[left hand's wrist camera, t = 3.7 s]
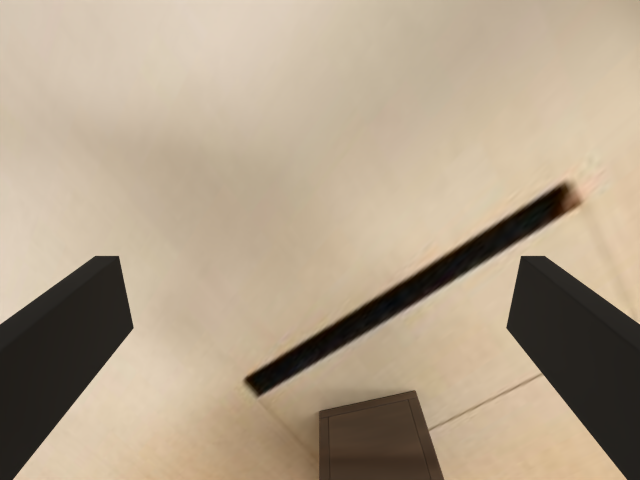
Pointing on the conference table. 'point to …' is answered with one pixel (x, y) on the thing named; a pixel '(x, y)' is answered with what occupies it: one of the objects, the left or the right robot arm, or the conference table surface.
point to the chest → (377, 441)
